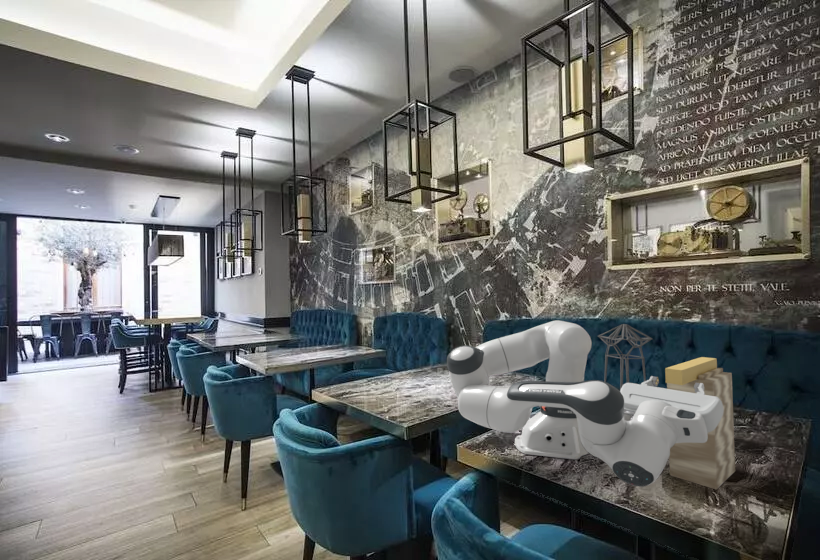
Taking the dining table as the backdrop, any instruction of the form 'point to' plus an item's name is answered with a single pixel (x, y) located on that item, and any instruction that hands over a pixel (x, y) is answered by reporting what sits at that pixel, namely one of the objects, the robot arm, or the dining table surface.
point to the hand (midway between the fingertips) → (676, 381)
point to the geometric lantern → (621, 352)
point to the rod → (689, 370)
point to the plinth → (717, 453)
